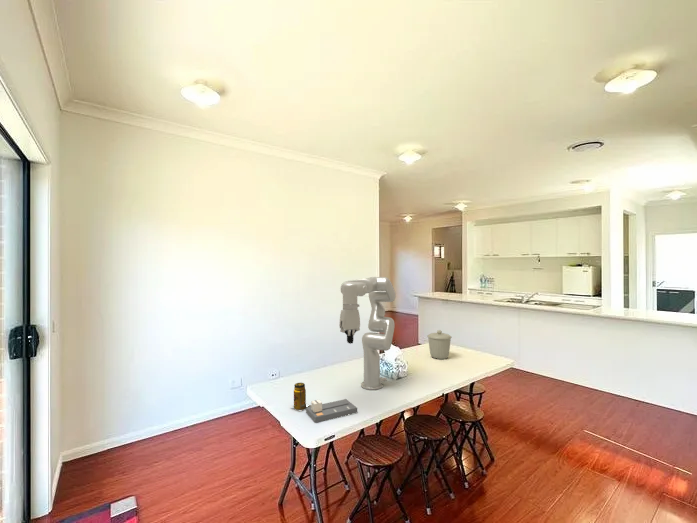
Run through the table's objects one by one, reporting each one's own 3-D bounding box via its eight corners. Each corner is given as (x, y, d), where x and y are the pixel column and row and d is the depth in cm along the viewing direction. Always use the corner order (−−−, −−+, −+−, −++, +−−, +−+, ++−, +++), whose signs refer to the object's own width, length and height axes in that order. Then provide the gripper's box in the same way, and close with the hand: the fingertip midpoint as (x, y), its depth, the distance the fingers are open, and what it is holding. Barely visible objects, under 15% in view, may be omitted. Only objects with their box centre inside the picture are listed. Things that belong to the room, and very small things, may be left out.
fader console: (346, 403, 175) (345, 398, 175) (357, 412, 164) (357, 407, 164) (306, 412, 164) (306, 407, 164) (315, 422, 154) (315, 417, 154)
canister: (446, 354, 269) (446, 327, 269) (455, 360, 251) (455, 332, 251) (424, 354, 268) (424, 328, 268) (431, 361, 250) (431, 332, 250)
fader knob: (319, 408, 163) (319, 399, 163) (322, 410, 160) (322, 402, 160) (311, 409, 161) (311, 401, 161) (314, 412, 158) (314, 403, 158)
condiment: (290, 408, 170) (290, 384, 170) (302, 402, 176) (302, 379, 176) (299, 412, 165) (299, 387, 165) (312, 406, 172) (312, 383, 172)
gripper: (359, 305, 179) (359, 339, 179) (333, 307, 173) (333, 343, 172) (366, 307, 173) (366, 342, 173) (340, 309, 166) (340, 346, 166)
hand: (350, 342), depth 173 cm, fingers closed
